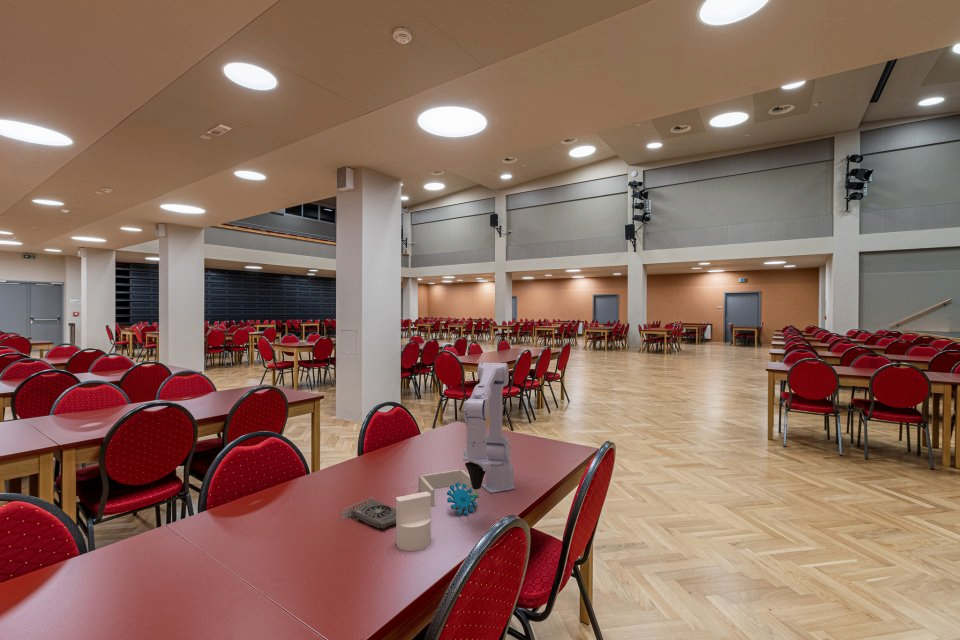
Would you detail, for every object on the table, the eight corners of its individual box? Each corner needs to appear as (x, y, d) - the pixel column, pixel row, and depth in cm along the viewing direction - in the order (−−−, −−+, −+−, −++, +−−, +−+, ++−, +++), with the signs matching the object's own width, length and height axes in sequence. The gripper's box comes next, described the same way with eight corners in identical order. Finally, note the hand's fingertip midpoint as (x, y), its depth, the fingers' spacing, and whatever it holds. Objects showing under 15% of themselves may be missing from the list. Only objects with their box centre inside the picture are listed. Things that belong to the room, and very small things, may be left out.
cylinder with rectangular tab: (402, 554, 108) (402, 506, 108) (392, 538, 116) (391, 493, 116) (436, 545, 112) (435, 499, 112) (423, 530, 120) (423, 487, 120)
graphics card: (338, 509, 127) (371, 495, 137) (338, 521, 128) (372, 506, 137) (375, 526, 117) (408, 509, 126) (375, 540, 117) (408, 522, 127)
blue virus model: (453, 514, 126) (444, 482, 133) (444, 524, 130) (436, 492, 136) (484, 511, 132) (475, 480, 139) (476, 519, 136) (466, 489, 142)
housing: (462, 483, 155) (462, 469, 156) (478, 497, 143) (478, 482, 143) (418, 490, 149) (418, 475, 149) (431, 506, 136) (431, 490, 136)
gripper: (454, 436, 129) (454, 482, 129) (473, 449, 116) (473, 500, 116) (476, 433, 132) (476, 478, 132) (497, 446, 119) (497, 495, 119)
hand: (476, 488), depth 124 cm, fingers closed
